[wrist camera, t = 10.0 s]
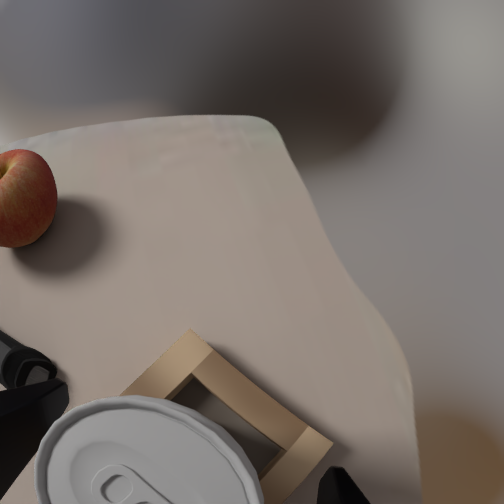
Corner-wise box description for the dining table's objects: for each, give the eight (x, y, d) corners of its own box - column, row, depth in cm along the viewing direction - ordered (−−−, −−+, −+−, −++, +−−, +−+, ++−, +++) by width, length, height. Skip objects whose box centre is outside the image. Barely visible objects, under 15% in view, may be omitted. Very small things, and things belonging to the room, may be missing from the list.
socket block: (209, 555, 10) (208, 567, 8) (82, 443, 13) (67, 443, 11) (322, 442, 15) (333, 443, 13) (193, 338, 18) (190, 328, 16)
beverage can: (200, 508, 12) (165, 625, 2) (134, 453, 13) (-5, 472, 3) (255, 451, 14) (323, 496, 4) (188, 398, 15) (126, 339, 5)
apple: (-4, 216, 21) (-42, 156, 14) (61, 180, 24) (34, 111, 17) (-1, 282, 18) (-56, 221, 11) (76, 239, 21) (36, 162, 14)
